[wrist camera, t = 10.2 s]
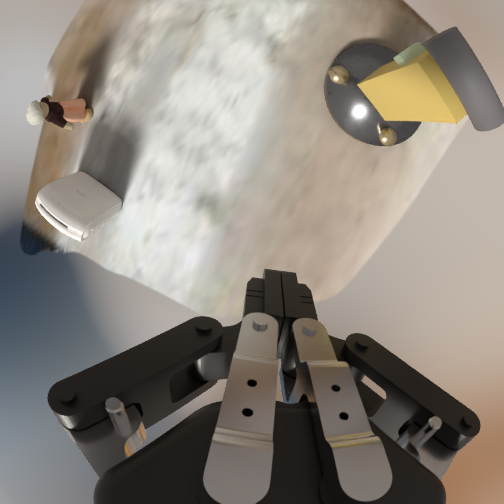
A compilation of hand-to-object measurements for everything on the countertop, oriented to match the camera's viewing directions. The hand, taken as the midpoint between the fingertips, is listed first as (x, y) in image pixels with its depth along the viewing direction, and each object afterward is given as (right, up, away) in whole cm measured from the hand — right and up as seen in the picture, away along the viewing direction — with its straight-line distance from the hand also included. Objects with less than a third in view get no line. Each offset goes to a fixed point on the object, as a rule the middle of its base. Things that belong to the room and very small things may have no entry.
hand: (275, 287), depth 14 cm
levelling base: (+16, +24, +20) cm, 35 cm away
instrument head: (+16, +22, +17) cm, 32 cm away
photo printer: (-26, +11, +28) cm, 40 cm away
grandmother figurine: (-28, +24, +22) cm, 43 cm away
